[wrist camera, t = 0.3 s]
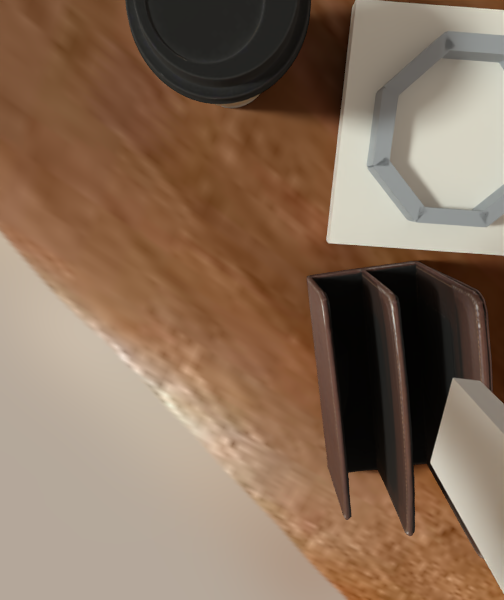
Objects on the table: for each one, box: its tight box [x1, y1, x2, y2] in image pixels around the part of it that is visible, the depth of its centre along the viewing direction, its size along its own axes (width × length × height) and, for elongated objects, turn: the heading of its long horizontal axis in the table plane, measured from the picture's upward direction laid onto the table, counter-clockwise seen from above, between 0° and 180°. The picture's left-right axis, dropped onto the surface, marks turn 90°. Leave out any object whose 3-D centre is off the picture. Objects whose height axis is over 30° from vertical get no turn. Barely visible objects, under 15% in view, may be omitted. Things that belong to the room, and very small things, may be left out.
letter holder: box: [307, 261, 493, 559], centre depth 35 cm, size 10×20×14 cm, turn 8°
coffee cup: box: [126, 0, 311, 108], centre depth 28 cm, size 9×9×15 cm
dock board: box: [326, 0, 504, 255], centre depth 35 cm, size 18×18×4 cm
